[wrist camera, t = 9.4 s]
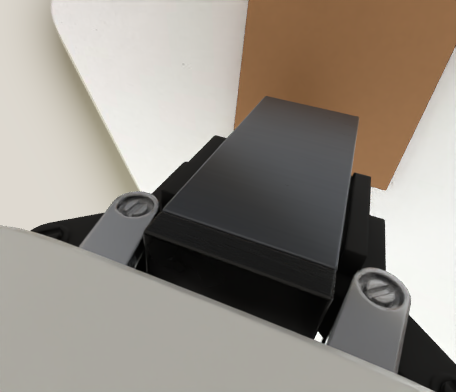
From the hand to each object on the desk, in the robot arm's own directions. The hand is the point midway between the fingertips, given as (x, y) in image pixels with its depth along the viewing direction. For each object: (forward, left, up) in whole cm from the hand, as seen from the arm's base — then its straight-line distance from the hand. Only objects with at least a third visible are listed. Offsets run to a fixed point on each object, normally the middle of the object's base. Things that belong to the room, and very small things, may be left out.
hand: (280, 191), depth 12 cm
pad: (0, 0, -13) cm, 13 cm away
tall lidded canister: (0, 0, -4) cm, 4 cm away
